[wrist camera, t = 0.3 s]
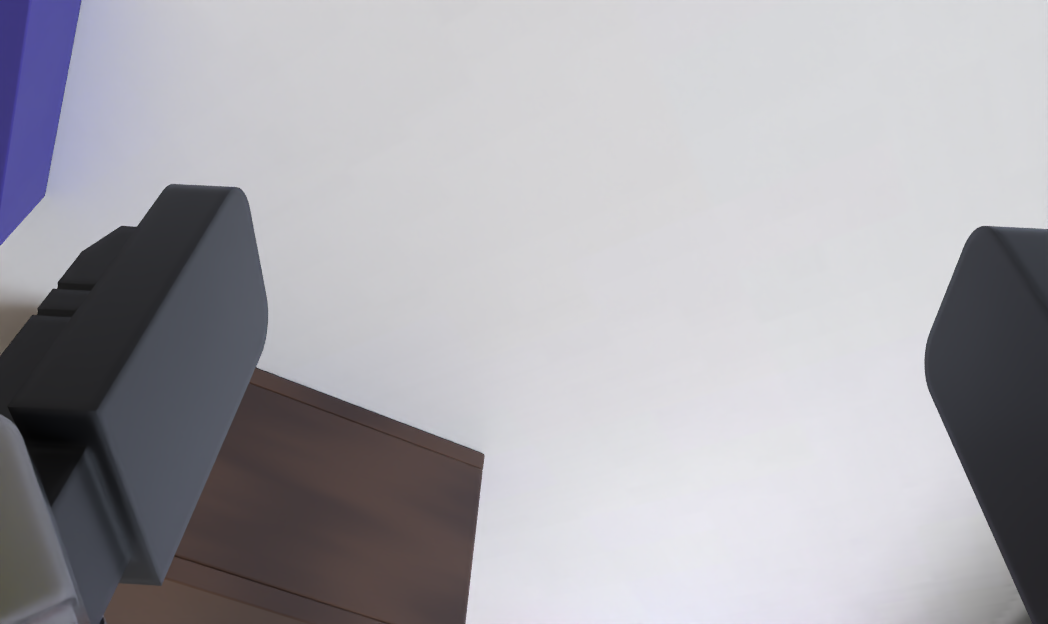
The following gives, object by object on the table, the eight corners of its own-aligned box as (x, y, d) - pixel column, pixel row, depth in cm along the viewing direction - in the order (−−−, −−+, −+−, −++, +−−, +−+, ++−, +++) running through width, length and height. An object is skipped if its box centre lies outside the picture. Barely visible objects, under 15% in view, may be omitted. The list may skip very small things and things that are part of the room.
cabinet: (52, 525, 42) (-64, 728, 35) (109, 312, 34) (-28, 519, 26) (363, 622, 46) (320, 824, 38) (485, 453, 38) (460, 670, 30)
